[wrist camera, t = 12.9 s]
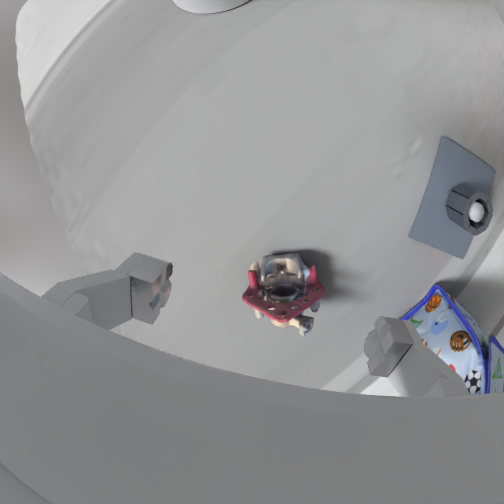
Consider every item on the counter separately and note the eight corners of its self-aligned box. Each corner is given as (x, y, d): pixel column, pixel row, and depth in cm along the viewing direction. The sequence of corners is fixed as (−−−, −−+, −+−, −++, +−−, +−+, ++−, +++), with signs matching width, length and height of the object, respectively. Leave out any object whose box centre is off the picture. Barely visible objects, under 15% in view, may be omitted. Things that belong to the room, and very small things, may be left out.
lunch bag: (485, 323, 40) (540, 413, 15) (432, 373, 46) (465, 470, 22) (442, 268, 37) (529, 385, 12) (376, 334, 43) (411, 469, 19)
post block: (441, 136, 29) (465, 139, 23) (491, 169, 29) (516, 177, 23) (408, 235, 36) (426, 253, 30) (460, 256, 35) (479, 275, 29)
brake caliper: (321, 236, 35) (331, 326, 29) (320, 271, 44) (326, 342, 39) (236, 244, 37) (233, 332, 31) (253, 277, 47) (252, 347, 41)
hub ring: (453, 178, 29) (472, 185, 25) (477, 193, 29) (496, 202, 25) (440, 215, 32) (457, 226, 27) (465, 227, 32) (482, 239, 27)
